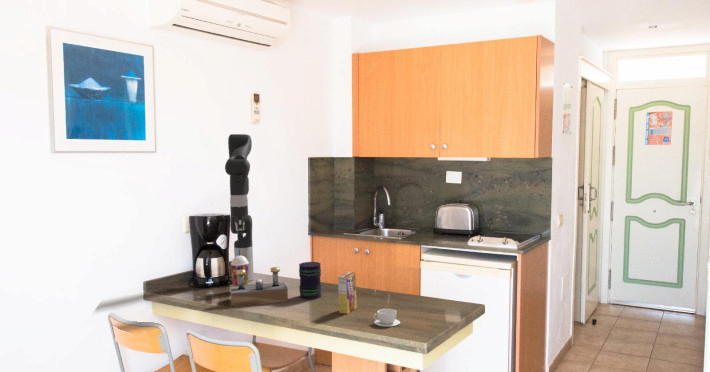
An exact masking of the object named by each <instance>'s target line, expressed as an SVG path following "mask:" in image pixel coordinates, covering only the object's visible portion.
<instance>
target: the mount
mask: <svg viewBox="0 0 710 372" xmlns="http://www.w3.org/2000/svg"><path fill="white" fill-rule="evenodd" d="M288 293H289V291H288V287H287V284H286V283H285V282H284V281H280V282H279V281H278V286H277V287H273V282H267V283H263V289H262V290H256V283H253V284H248V285H244V289H240V290H239V285H238V286H233V285H230V301H231V307H240V306H241V307H242V306H255V305H265V304H277V303H278V304H279V303H287V302H289V299H288V298H289V295H288Z"/></svg>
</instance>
